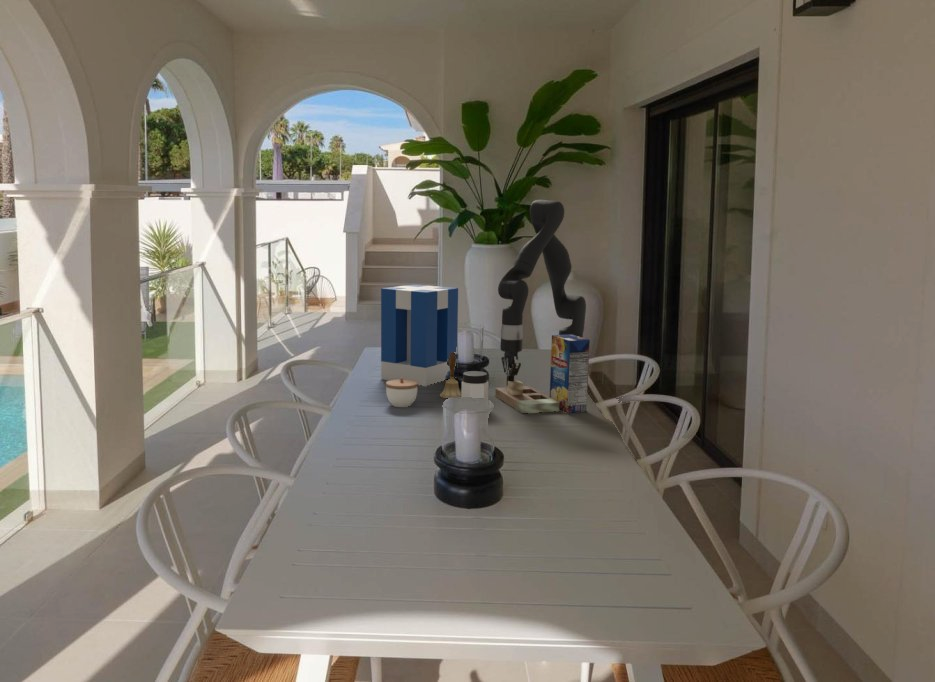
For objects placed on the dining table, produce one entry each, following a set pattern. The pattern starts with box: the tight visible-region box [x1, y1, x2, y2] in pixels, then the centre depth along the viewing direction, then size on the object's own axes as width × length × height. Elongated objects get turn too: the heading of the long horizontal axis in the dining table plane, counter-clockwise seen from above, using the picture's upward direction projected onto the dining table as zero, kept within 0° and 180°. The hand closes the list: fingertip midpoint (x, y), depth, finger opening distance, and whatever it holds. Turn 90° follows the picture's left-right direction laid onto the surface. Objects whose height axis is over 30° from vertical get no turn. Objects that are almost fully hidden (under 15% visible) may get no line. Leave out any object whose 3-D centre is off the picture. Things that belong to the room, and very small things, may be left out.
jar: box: [460, 370, 489, 400], centre depth 261 cm, size 9×8×12 cm
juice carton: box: [549, 334, 591, 414], centre depth 264 cm, size 12×8×24 cm, turn 23°
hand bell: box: [439, 352, 462, 399], centre depth 278 cm, size 8×8×16 cm
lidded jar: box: [385, 378, 419, 408], centre depth 265 cm, size 11×11×9 cm
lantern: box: [380, 284, 459, 387], centre depth 305 cm, size 21×21×35 cm
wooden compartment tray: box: [494, 385, 560, 414], centre depth 271 cm, size 13×25×3 cm, turn 19°
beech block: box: [507, 380, 524, 395], centre depth 272 cm, size 4×4×4 cm
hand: (510, 386), depth 275 cm, fingers closed
